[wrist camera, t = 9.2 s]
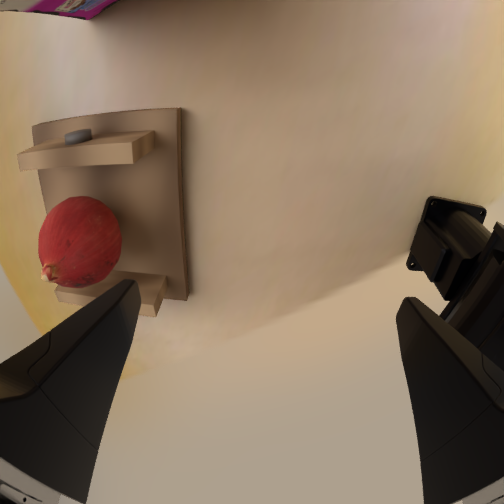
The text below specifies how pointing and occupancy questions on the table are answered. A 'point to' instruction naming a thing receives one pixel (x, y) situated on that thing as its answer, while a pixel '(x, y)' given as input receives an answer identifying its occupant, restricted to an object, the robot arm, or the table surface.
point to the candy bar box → (59, 7)
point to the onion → (79, 243)
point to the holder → (121, 193)
